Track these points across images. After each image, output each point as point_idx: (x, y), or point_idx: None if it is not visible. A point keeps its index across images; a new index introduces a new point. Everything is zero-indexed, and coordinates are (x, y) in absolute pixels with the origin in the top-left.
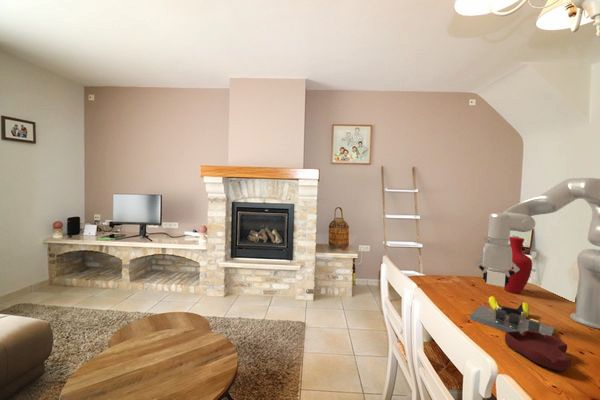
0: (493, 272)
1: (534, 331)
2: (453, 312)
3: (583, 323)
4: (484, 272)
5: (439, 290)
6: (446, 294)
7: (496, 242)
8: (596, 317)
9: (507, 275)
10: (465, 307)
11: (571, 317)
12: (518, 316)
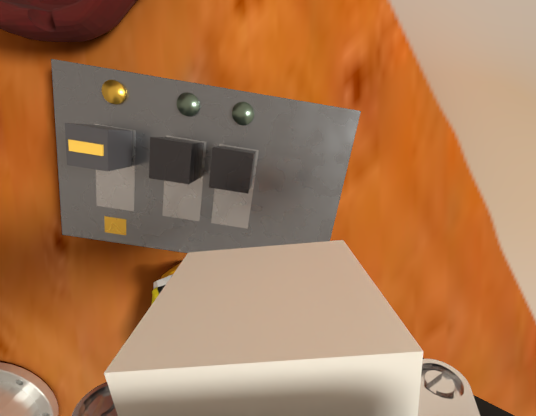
0: (309, 351)
1: (74, 12)
2: (422, 140)
3: (15, 369)
4: (426, 369)
5: (481, 360)
6: (452, 334)
7: None
8: None
9: (112, 400)
10: (374, 242)
11: (49, 396)
12: (154, 151)
